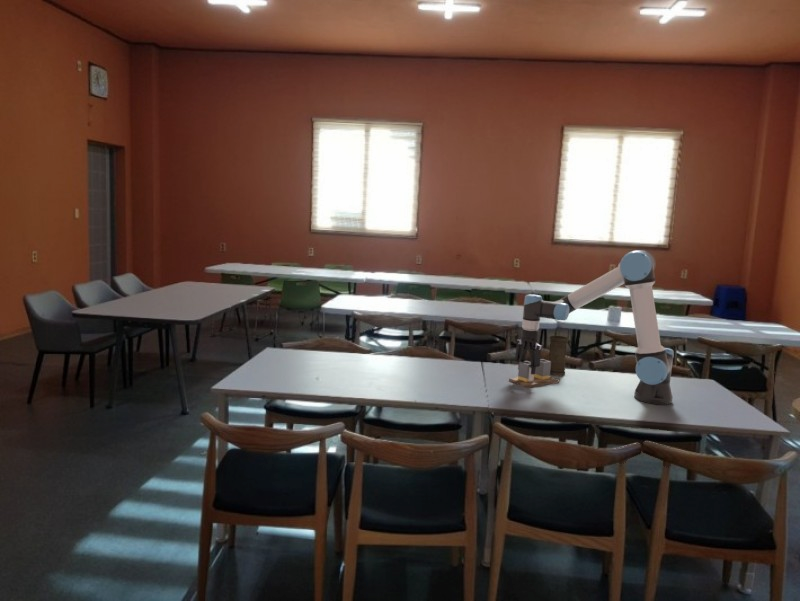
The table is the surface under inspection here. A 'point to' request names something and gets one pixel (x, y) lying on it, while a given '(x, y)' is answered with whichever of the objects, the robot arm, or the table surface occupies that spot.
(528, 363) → the sleeve
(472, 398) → the table surface
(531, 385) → the pin board
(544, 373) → the sleeve
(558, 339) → the container
